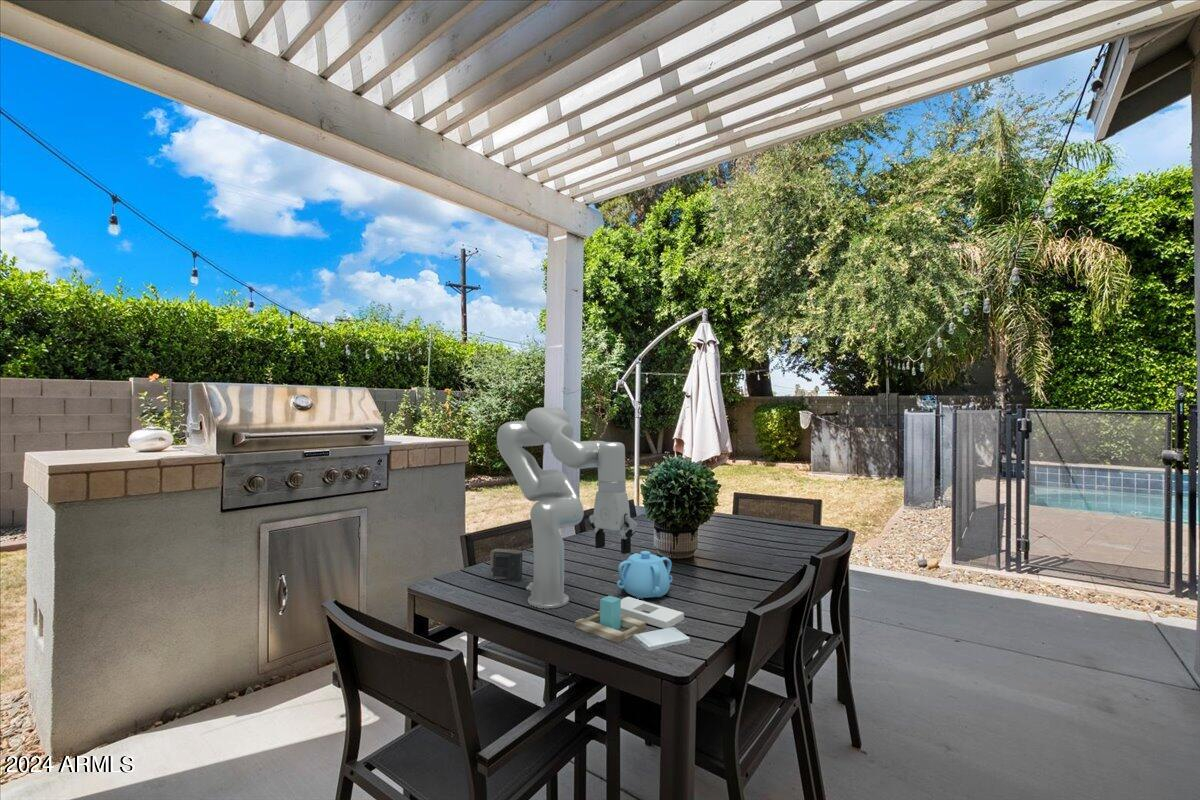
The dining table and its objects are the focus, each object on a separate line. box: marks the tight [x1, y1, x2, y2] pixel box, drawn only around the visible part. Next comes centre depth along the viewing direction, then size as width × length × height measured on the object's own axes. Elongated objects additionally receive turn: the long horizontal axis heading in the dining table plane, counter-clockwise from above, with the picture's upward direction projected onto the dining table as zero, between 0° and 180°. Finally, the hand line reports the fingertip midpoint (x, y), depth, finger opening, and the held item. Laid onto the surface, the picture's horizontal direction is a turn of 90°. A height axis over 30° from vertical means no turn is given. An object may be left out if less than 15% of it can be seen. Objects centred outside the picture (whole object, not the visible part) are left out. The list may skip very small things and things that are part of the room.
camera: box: [488, 548, 523, 582], centre depth 192 cm, size 11×6×10 cm, turn 74°
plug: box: [599, 595, 622, 631], centre depth 150 cm, size 4×4×8 cm
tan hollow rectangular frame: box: [574, 609, 647, 644], centre depth 150 cm, size 15×12×2 cm
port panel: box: [620, 596, 685, 629], centre depth 160 cm, size 20×9×2 cm, turn 50°
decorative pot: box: [616, 550, 674, 600], centre depth 178 cm, size 16×16×14 cm
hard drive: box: [632, 626, 691, 652], centre depth 143 cm, size 2×8×12 cm
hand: (612, 550), depth 151 cm, fingers open, 9 cm apart
